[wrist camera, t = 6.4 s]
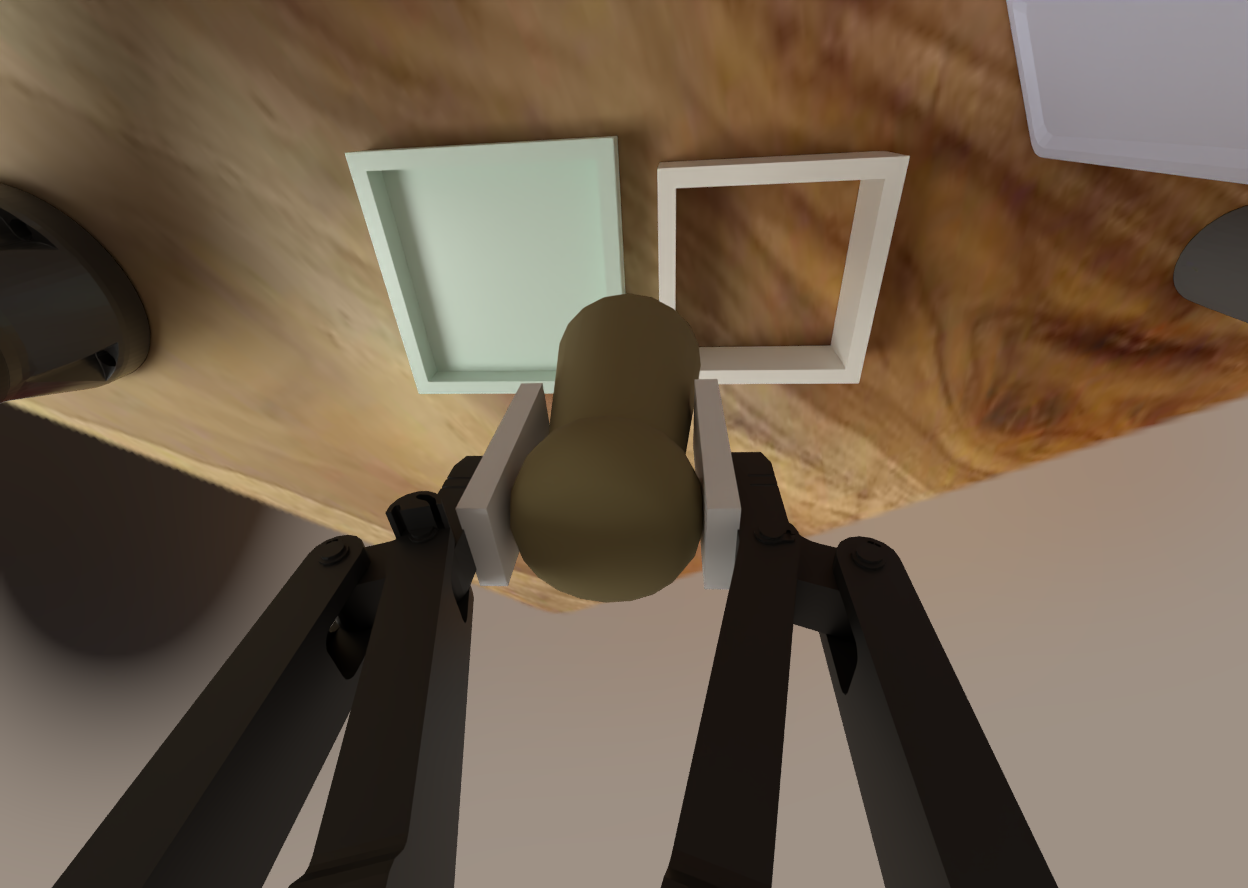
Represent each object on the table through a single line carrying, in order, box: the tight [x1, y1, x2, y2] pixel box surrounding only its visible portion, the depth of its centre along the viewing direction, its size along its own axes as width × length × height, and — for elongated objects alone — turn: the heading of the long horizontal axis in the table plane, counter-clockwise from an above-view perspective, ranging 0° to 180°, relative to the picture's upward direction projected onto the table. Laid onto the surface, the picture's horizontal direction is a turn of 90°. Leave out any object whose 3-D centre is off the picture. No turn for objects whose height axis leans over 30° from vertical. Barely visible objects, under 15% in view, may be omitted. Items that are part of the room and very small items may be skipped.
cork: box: [510, 293, 703, 602], centre depth 17 cm, size 6×6×11 cm
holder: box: [657, 151, 910, 384], centre depth 32 cm, size 13×13×4 cm
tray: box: [345, 136, 625, 394], centre depth 34 cm, size 16×16×2 cm
